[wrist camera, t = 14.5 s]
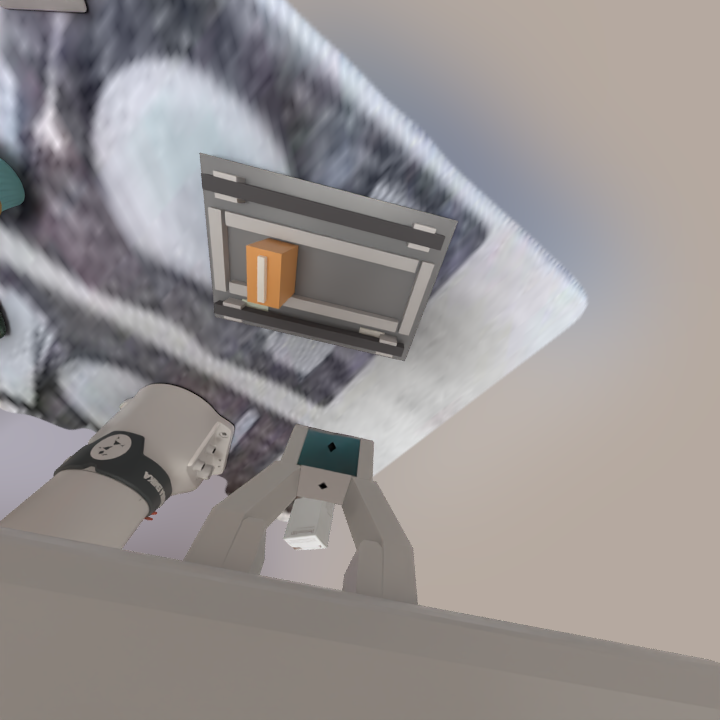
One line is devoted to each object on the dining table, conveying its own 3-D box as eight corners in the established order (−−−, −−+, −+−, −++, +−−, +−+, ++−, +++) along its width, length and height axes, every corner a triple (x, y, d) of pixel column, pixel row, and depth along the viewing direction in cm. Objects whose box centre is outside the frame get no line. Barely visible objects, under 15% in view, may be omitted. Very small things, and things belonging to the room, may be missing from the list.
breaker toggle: (294, 292, 28) (276, 311, 24) (267, 286, 28) (244, 303, 23) (298, 245, 26) (279, 255, 21) (269, 237, 26) (242, 246, 21)
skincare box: (330, 463, 48) (315, 534, 37) (340, 477, 50) (329, 548, 40) (302, 468, 49) (280, 538, 39) (313, 482, 51) (295, 552, 41)
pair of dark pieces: (400, 352, 31) (401, 357, 30) (220, 309, 30) (214, 313, 29) (443, 235, 24) (445, 236, 23) (209, 174, 23) (201, 172, 22)
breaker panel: (403, 353, 34) (405, 368, 31) (223, 310, 33) (207, 322, 30) (453, 219, 25) (462, 222, 22) (212, 156, 24) (187, 149, 21)
